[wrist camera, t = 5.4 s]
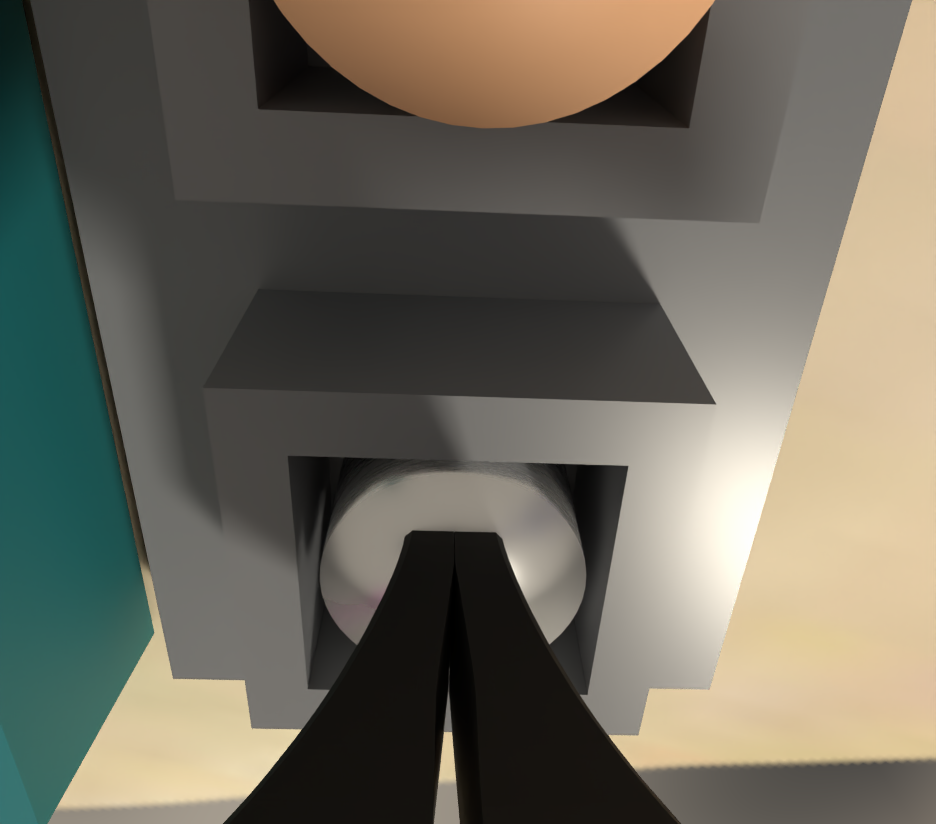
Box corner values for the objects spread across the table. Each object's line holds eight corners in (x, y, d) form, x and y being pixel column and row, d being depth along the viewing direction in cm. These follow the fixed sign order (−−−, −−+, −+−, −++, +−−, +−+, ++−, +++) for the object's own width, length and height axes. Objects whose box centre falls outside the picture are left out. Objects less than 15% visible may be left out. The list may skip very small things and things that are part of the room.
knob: (575, 376, 14) (603, 479, 11) (551, 555, 16) (570, 678, 13) (339, 369, 13) (312, 470, 11) (347, 550, 16) (325, 672, 13)
